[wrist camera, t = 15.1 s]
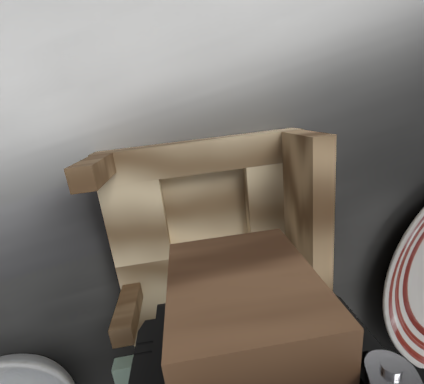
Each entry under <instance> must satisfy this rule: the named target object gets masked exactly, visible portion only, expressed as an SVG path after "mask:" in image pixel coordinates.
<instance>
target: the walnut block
mask: <svg viewBox="0 0 424 384" xmlns="http://www.w3.org/2000/svg"><path fill="white" fill-rule="evenodd" d="M363 334H364V329H363V327H362V326H361V325H360V324H359V323H358V321H357V320H356V319H355V318H354V317H353V316H352V314H351V313H350V312H349V311H348V310H347V308H346V307H345V306H344V305H343V304H342V302H341V301H340V300H339V299H338V298H337V296H336V295H335V294H334V293H333V292H332V290H331V289H330V288H329V287H328V286H327V284H326V283H325V282H324V281H323V280H322V278H321V277H320V276H319V275H318V274H317V273H316V271H315V270H314V269H313V268H312V267H311V265H310V264H309V263H308V262H307V261H306V259H305V258H304V257H303V256H302V255H301V253H300V252H299V251H298V250H297V249H296V247H295V246H294V245H293V244H292V243H291V241H290V240H289V239H288V238H287V237H286V235H285V234H284V233H283V232H282V231H281V230H280V228H279V229H272V230H265V231H258V232H251V233H244V234H237V235H230V236H223V237H217V238H210V239H203V240H196V241H189V242H182V243H175V244H170V248H169V262H168V276H167V290H166V304H165V318H164V332H163V346H162V360H161V367H162V372H163V377H164V382H165V384H359V382H360V370H361V358H362V346H363Z"/></svg>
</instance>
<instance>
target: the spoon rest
mask: <svg viewBox="0 0 424 384" xmlns="http://www.w3.org/2000/svg"><path fill="white" fill-rule="evenodd" d="M0 384H75V382H74V381H73V379H72V377H71V376H70V374H69V373H68V372H67V371H66V370H65V369H64V368H63V367H62V366H61V365H59V364H58V363H56V362H55V361H53V360H51V359H49V358H47V357H44V356H41V355H37V354H10V355H4V356H0Z"/></svg>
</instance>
